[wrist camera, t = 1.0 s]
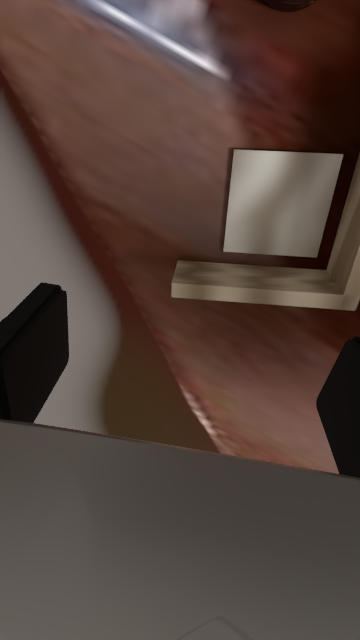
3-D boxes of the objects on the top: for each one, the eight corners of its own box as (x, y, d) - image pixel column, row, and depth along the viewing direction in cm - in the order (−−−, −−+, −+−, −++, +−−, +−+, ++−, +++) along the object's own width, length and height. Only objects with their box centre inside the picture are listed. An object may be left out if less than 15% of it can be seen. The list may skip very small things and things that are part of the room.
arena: (396, 90, 29) (435, 85, 23) (337, 284, 38) (355, 310, 33) (183, 83, 30) (176, 77, 25) (177, 273, 39) (171, 297, 34)
